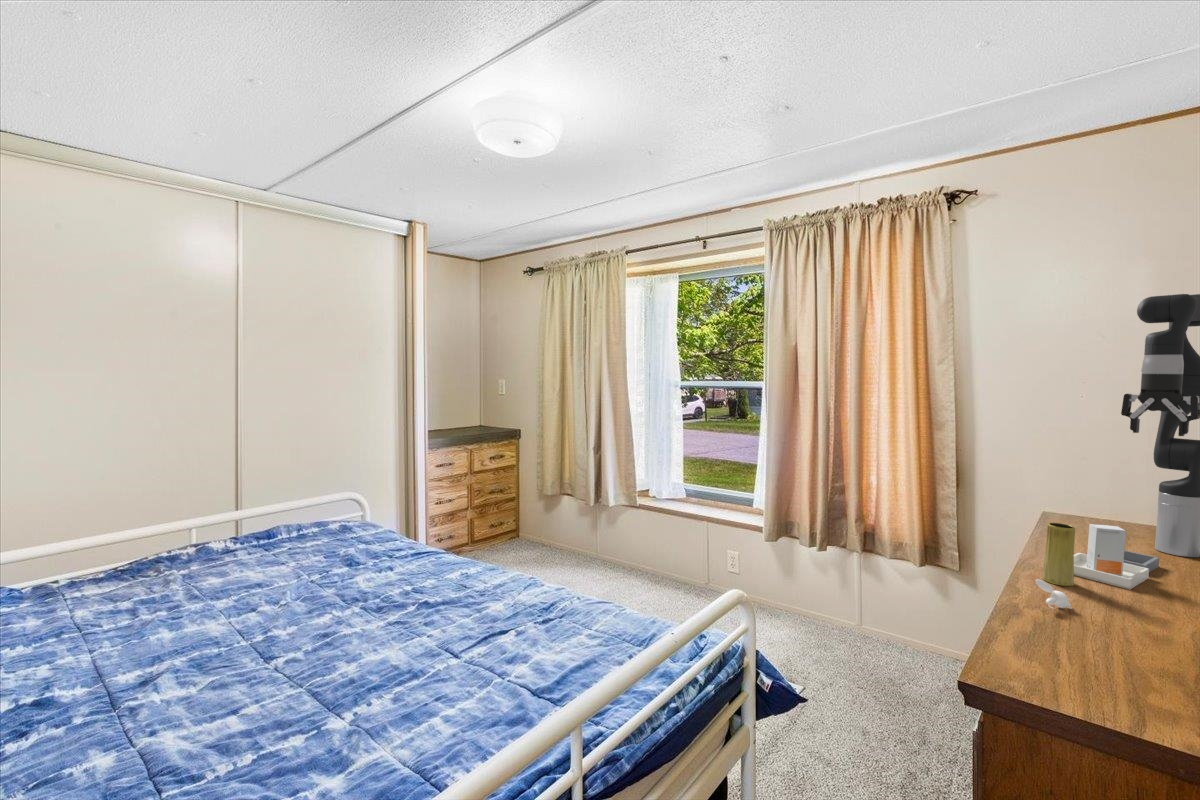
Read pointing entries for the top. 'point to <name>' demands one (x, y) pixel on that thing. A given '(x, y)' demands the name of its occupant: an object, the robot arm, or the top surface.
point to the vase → (1059, 555)
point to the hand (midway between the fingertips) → (1157, 434)
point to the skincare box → (1106, 549)
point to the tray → (1128, 580)
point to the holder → (1141, 560)
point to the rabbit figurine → (1054, 596)
